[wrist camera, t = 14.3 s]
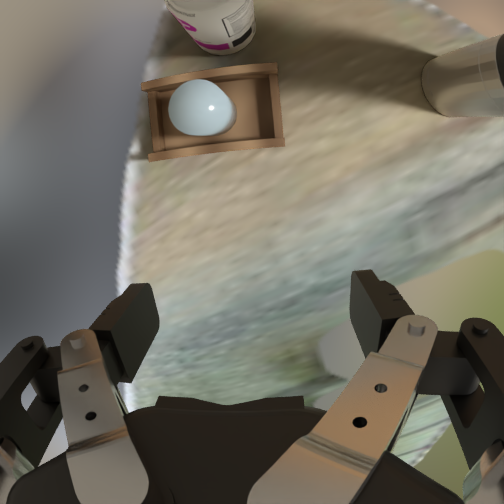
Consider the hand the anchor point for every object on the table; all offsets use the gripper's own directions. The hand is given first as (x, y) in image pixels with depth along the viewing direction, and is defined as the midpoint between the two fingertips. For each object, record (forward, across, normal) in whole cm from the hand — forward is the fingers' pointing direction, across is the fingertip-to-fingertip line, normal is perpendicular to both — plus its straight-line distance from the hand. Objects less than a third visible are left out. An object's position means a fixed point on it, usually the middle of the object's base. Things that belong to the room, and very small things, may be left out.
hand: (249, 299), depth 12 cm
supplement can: (+30, +3, -22) cm, 38 cm away
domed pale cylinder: (+29, +5, -10) cm, 31 cm away
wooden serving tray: (+30, +5, -10) cm, 32 cm away
